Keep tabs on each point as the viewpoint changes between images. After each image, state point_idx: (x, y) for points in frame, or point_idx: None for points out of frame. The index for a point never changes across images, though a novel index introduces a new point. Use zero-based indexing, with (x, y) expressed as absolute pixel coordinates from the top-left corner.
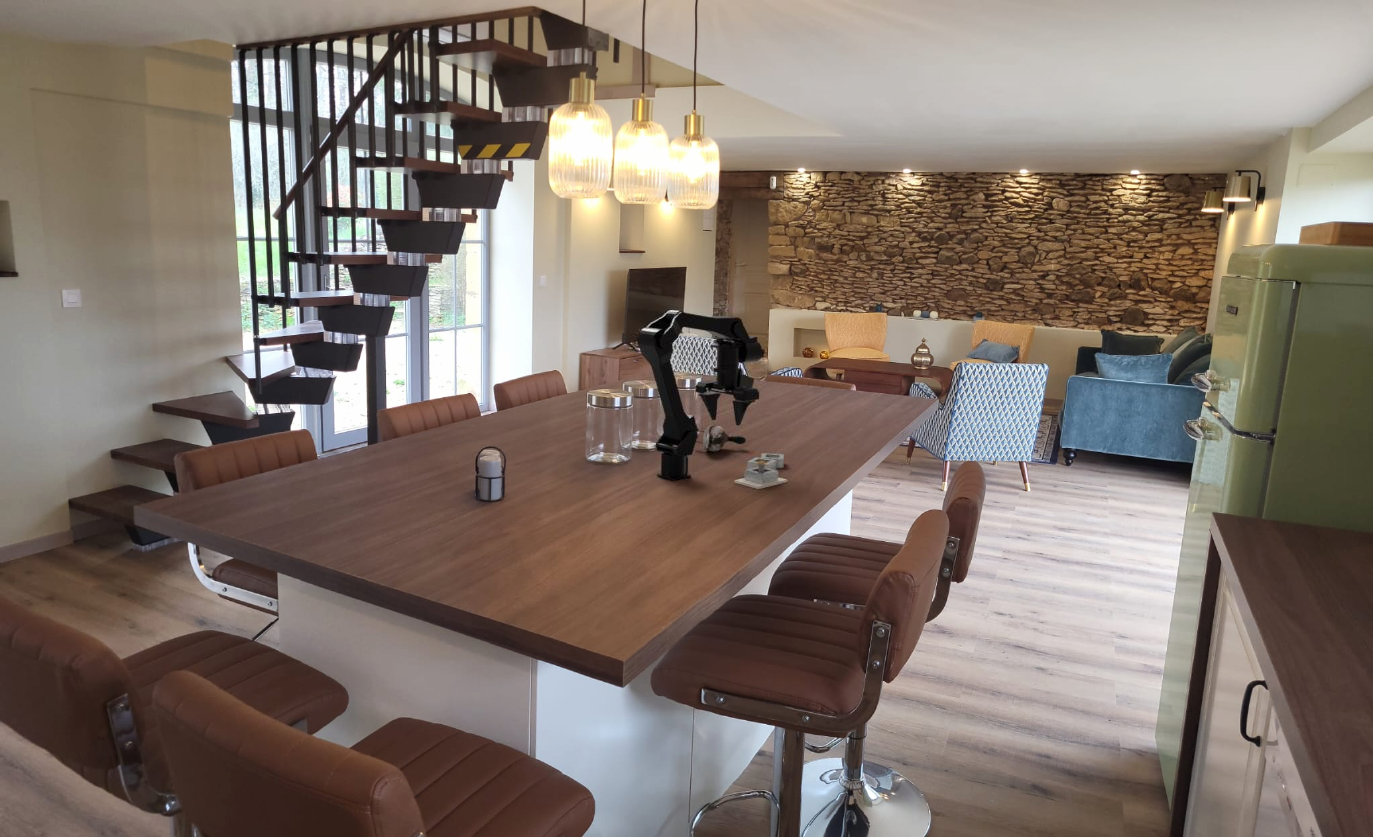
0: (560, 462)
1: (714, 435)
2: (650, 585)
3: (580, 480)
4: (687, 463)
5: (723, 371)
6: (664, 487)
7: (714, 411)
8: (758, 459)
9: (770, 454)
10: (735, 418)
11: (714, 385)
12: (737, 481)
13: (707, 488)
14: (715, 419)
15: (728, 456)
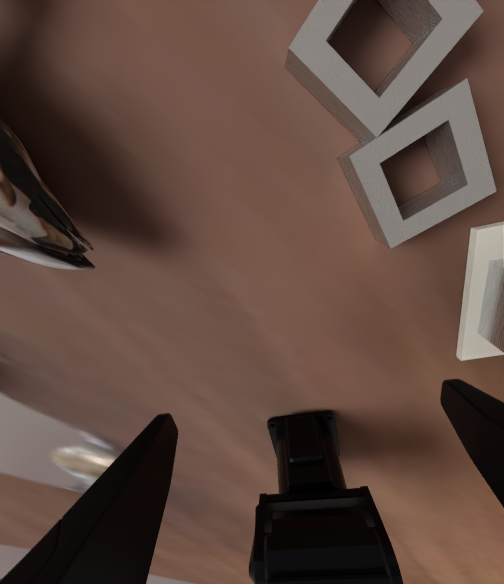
0: None
1: (19, 217)
2: None
3: (239, 543)
4: (319, 441)
5: None
6: (369, 480)
7: (142, 495)
8: (379, 162)
9: (343, 11)
10: (494, 481)
11: None
12: (475, 358)
13: (443, 428)
14: (170, 416)
15: (125, 156)
